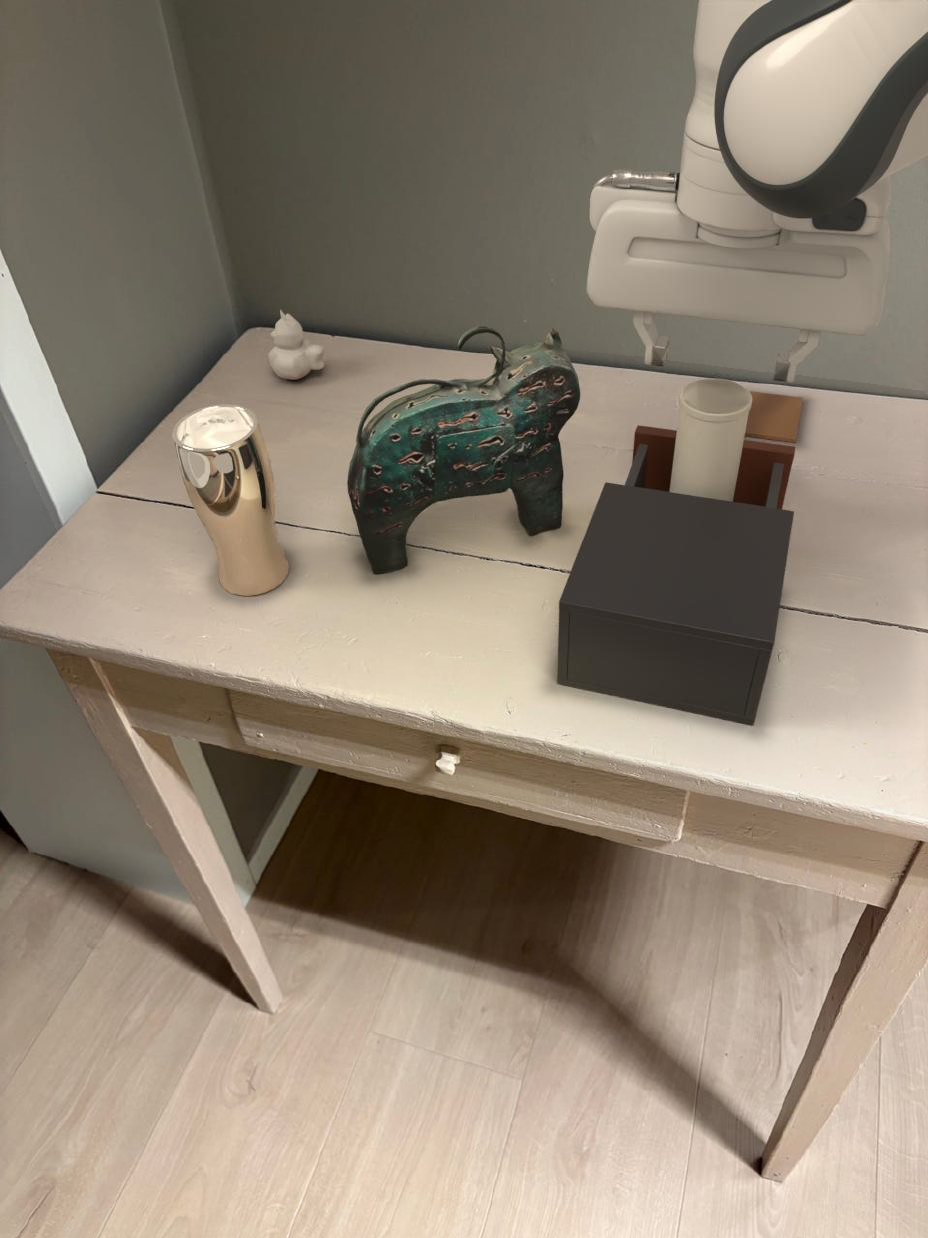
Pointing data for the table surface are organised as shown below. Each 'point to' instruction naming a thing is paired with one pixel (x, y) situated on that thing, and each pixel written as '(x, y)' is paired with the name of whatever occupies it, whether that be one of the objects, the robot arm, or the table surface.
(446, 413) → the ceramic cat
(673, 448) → the drawer
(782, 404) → the coaster
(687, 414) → the container
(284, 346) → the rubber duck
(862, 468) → the table surface
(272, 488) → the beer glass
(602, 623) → the cabinet
